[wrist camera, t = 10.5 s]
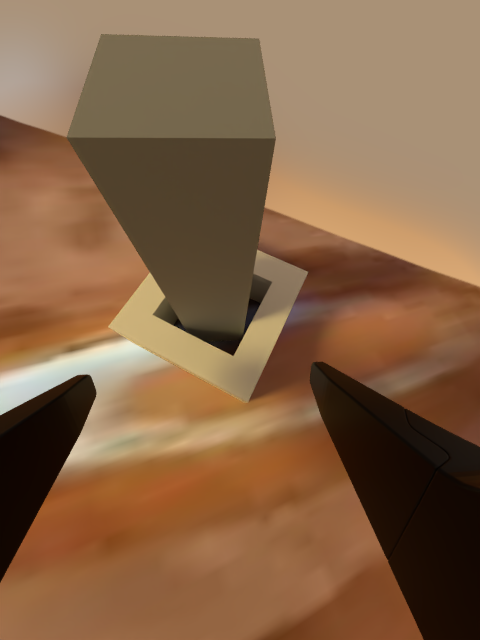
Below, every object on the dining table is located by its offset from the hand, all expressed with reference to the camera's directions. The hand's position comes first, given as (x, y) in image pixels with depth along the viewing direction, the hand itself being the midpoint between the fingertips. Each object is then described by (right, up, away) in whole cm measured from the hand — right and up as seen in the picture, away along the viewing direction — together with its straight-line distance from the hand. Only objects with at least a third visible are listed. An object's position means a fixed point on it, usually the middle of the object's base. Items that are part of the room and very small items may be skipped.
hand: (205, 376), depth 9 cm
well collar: (0, +2, +10) cm, 10 cm away
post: (0, +2, +10) cm, 10 cm away
